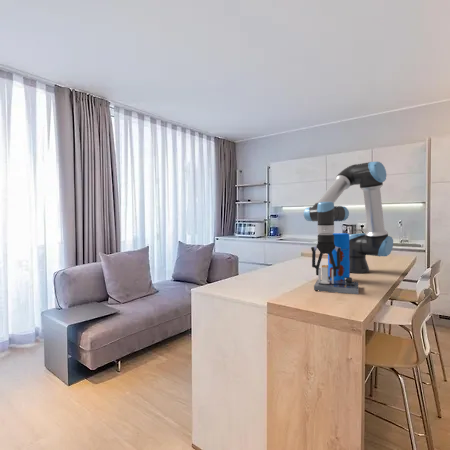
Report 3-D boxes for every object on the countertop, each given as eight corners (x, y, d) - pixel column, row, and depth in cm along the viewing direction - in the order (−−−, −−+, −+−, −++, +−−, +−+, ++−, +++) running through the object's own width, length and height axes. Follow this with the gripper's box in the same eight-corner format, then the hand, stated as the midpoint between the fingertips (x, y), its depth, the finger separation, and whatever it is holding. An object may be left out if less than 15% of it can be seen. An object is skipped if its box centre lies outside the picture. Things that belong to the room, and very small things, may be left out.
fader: (321, 281, 148) (321, 264, 148) (330, 281, 147) (329, 265, 146) (320, 283, 143) (320, 266, 143) (329, 283, 142) (328, 266, 142)
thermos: (351, 282, 156) (351, 234, 155) (329, 282, 158) (329, 234, 157) (347, 278, 167) (346, 233, 166) (327, 278, 169) (326, 233, 168)
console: (317, 284, 155) (317, 275, 154) (358, 286, 147) (358, 277, 147) (314, 291, 141) (313, 281, 141) (358, 294, 134) (358, 284, 134)
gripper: (304, 234, 144) (305, 282, 145) (346, 235, 137) (346, 285, 138) (307, 233, 151) (307, 279, 152) (346, 233, 144) (346, 282, 145)
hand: (326, 282), depth 145 cm, fingers open, 5 cm apart
